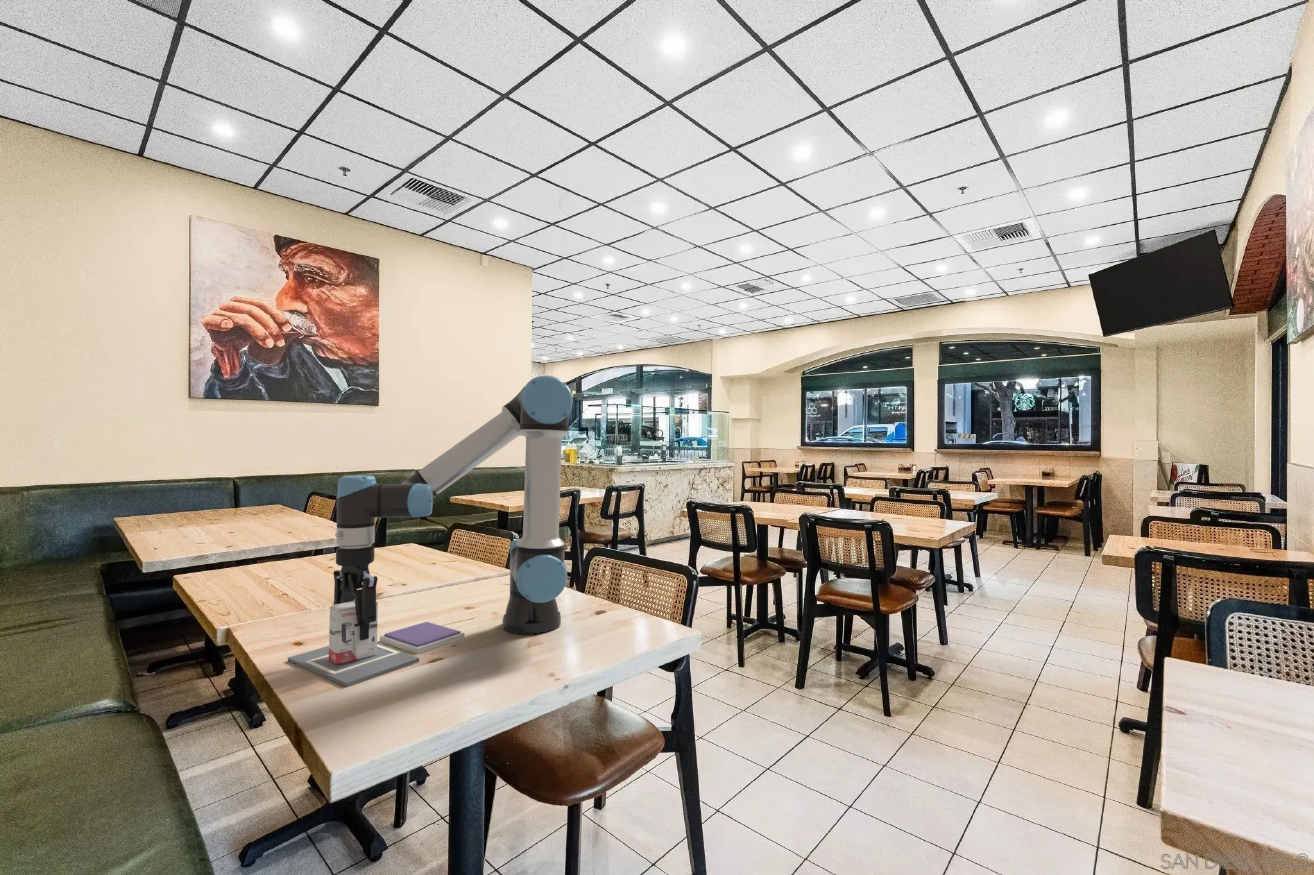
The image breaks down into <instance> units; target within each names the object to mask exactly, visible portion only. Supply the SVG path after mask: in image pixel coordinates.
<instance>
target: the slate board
mask: <svg viewBox="0 0 1314 875" xmlns="http://www.w3.org/2000/svg"><path fill="white" fill-rule="evenodd" d="M289 661H290V662H289ZM287 662H289V663H291V662H292V663H291V664H293V663H295V664H296V666H298V665H299V666H298V667H300V666H302V667H303V668H302V667H301V668H302V669H304V668H306V669H305V670H307V669H308V670H307V671H309V670H310V671H309V672H311V671H312V672H311V673H313V672H315V673H314V674H316V675H319V676H320V675H321V676H320V677H323V678H325V679H327V680H329V681H332V682H334V683H336V684H338V685H340V684H341V686H343V687H346V688H349V687H351V686H354V685H357V684H359V683H362V682H365V681H368V680H371V679H373V678H377V677H379V676H382V675H385V674H387V673H388V674H389V673H391V672H393V671H396V670H399V669H402V668H405V667H408V666H411V665H414V664H416V663H419V662H420V657H417V656H415V655H412V654H409V653H406V652H404V651H400V650H398V649H394V648H392V647H390V646H385V645H383V644H380V643H378V642H377V654H376V655H373V656H369V657H365V658H362V659H357V660H354V661H350V662H346V663H342V664H338V665H337V664H335V663H333V662H332V661H330V660H329V645H327V646H323V647H320V648H317V649H313V650H309V651H306V652H302V653H299V654H295V655H291V656H289V657H287ZM295 664H294V665H295Z"/></svg>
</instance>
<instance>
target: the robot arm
mask: <svg viewBox="0 0 1314 875" xmlns="http://www.w3.org/2000/svg"><path fill="white" fill-rule="evenodd" d="M573 399H574V398H573V395H572V391H571V389H570V387H569V386H568V385H567V383H566V382H565V381H564V380H562V379H560V378H558V377H557V376H552V375H540V376H539V375H538V376H535V377H533V378H532V379H530V380H529V381H528V382H527V383H526V384H525V386H524V387H522V388H521V390H520V391H519V392H518V393H517V394H516V395H515V396H514V397H513V398H512V399H511V400H510V401H508V402H507V403H506V404H504V405H503V406H501V407H502V408H501V412H500V413H498V414H497V415H495V416H494V417H493V418H491V419H490V420H488V421H487V422H485V423H484V424H483V425H482V426H479V428H477V429H475V430H474V431H473V432H472V433H470V434H469V435H467V436H466V437H464V438H463V439H462V440H460V441H459V442H458V443H456V444H454V445H453V446H452V447H450V448H448V449H447V450H446V451H444V452H443V453H441V454H440V455H439V456H437V457H436V458H435V459H433V460H432V461H431V462H429V463H427V464H426V465H425V466H423V467H422V468H420V469H419V470H418V471H417V472H415V473H413V474H412V475H410V477H408V478H406V479H405V480H403V481H402V482H401V483H394V484H392V483H391V484H383V483H382V484H380V483H377V481H376V476H374V475H363V474H361V475H359V474H357V475H344V476H342V477H340V478H339V479H338V482H337V494H336V497H335V498H336V533H335V535H334V536H335V538H336V545H337V546H338V547H337V548H336V549H335V564H336V565H338V566H339V567H341V569H338V570H334V571H333V578H334V579H333V580H334V589H333V590H334V591H333V605H335V604H340V603H346V602H351V601H355V608H356V616H357V624H354V626H355V649H354V656H359V655H362V654H366V653H369V624H370V623H372V622H375V621H376V602H377V586H378V585H377V584H378V576H376V575H374V576H372V575H370V574H371V573H370V570H369V569H370V568H369V565H370V564H372V563H373V562H375V546H374V543H375V542H376V541H375V539H376V538H375V537H376V533H375V532H376V530H375V529H376V519H383V518H420V517H428V516H431V515H432V513H433V502H434V501H433V500H434V499H433V498H435V497H436V496H437V495H439V494H440V493H442V492H443V491H444V490H445V489H447V488H448V487H450V486H452V485H453V484H454V483H456V482H458V480H460V479H461V478H462V477H464V476H465V475H467V474H468V473H469V472H471V471H472V470H473V469H474V468H476V467H478V466H479V465H480V464H482V463H483V462H485V461H486V460H488V459H489V458H491V456H493V455H495V454H496V453H497V452H498V451H500V450H501V449H503V448H504V447H506V446H507V445H508V444H509V443H511V442H512V441H514V440H515V439H516V438H518V437H519V436H520V437H525V458H524V459H525V462H524V464H525V466H524V488H523V489H524V490H523V491H524V495H523V497H524V498H523V522H522V525H523V526H522V537H521V538H520V539H519V538H518V539H514V540H512V541H511V542H510V546H509V547H510V549H509V555H510V558H509V559H510V560H509V561H510V562H509V563H510V564H509V599H508V600H507V601H508V602H507V605H506V608H505V614H504V615H503V617H502V629H503V630H504V631H506V632H507V633H511V634H517V635H534V633H536V634H540V633H539V632H543V633H547V632H550V630H551V631H553V629H554V630H555V629H558V628H559V627H560V626H561V622H562V618H561V617H562V616H561V612H560V611H559V608H558V603H557V600H556V598H557V597H559V596H560V594H562V592H563V591H564V589H565V587H566V585H567V581H568V572H567V567H566V565H565V541H563V539H561V538H560V535H559V534H560V532H559V531H560V506H561V504H560V502H561V477H562V476H561V471H562V468H561V467H562V444H563V442H562V440H563V438H564V437H565V436H566V435H567V434H568V433H569V421H570V420H569V419H570V417H569V416H570V413H571V411H572V408H573V401H574V400H573ZM559 625H560V626H559ZM557 627H558V628H557ZM546 631H547V632H546Z"/></svg>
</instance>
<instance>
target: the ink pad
mask: <svg viewBox="0 0 1314 875" xmlns="http://www.w3.org/2000/svg"><path fill="white" fill-rule="evenodd" d="M465 636H466V635H465V632H462V631H460V630H457V629H454V628H449V627H447V626H442V625H440V624H437V623H434V622H429V621H425V622H422V623H417V624H414V625H411V626H407V627H404V628H400V629H397V630H394V631H390V632H387V633H384V634H383V635H380V636H379V642H382V643H384V644H387V645H390V646H393V647H396V648H399V649H401V650H404V651H407V650H408V651H407V652H410V653H414V654H416V655H418V654H421V652H422V653H424V652H428V651H430V650H433V649H437V648H439V647H442V646H444V645H447V644H446V643H448V644H451V643H454V642H457V641H460V640H462V638H463V639H464V638H465ZM453 641H454V642H453ZM441 645H442V646H441Z"/></svg>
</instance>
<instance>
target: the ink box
mask: <svg viewBox="0 0 1314 875" xmlns="http://www.w3.org/2000/svg"><path fill="white" fill-rule="evenodd" d="M378 616H379V602H378V601H376V621H375V622H372V623H370V624H369V653H366V654H362V655H359V656H354V649H355V626H354V624H357V616H356V608H355V601H351V602H346V603H340V604H335V605H334V604H333V605H331V606H329V625H328V626H329V631H328V633H329V635H328V636H329V637H328V638H329V639H328V646H329V660H330V661H332V662H333V663H335V664H337V665H338V664H342V663H346V662H350V661H354V660H357V659H362V658H365V657H369V656H373V655H376V654H377V643H378V622H379V621H378Z"/></svg>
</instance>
